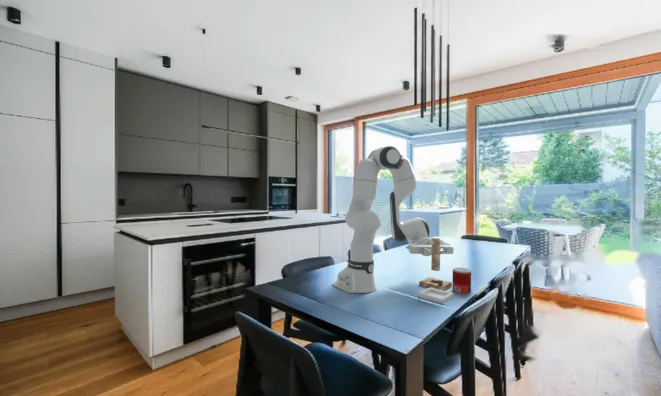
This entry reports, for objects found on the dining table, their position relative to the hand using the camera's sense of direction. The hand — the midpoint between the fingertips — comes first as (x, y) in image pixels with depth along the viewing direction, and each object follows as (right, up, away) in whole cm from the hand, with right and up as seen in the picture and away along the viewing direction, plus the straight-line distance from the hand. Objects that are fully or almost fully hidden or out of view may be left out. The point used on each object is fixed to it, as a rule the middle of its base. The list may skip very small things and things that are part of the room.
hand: (436, 252), depth 132 cm
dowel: (0, -8, +1) cm, 8 cm away
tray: (0, -21, +1) cm, 21 cm away
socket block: (+5, -20, +15) cm, 26 cm away
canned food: (+15, -21, +8) cm, 27 cm away
